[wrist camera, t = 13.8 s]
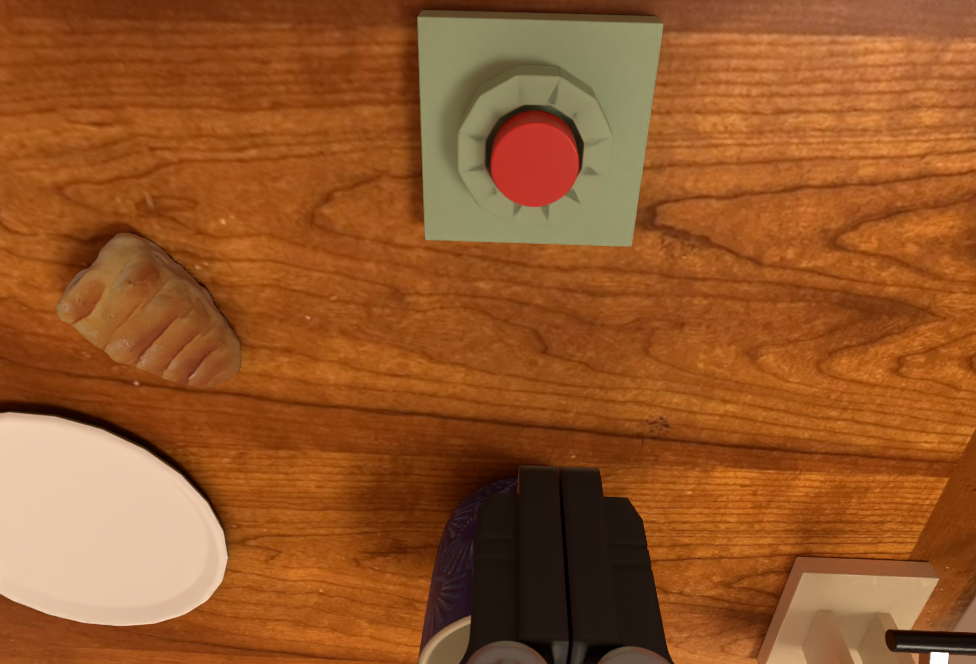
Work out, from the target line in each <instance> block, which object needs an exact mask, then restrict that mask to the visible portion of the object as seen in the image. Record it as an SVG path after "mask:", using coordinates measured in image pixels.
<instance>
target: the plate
mask: <svg viewBox="0 0 976 664" xmlns="http://www.w3.org/2000/svg"><path fill="white" fill-rule="evenodd" d="M228 556H229V555H228V550H227V544H226V538H225V533H224V528H223V527H222V525H221V523H220V521H219V519H218V518H217V516H216V514H215V512H214V510H213V509H212V507H211V505H210V503H209V501H208V500H207V499H206V498H205V497H204V496H203V495H202V494H201V493H200V492H199V491H198V489H197V488H196V487H195V486H194V485H193V484H192V483H191V482H190V481H189V480H188V479H187V478H186V477H185V476H184V475H183V474H182V473H181V472H180V471H179V470H177V469H176V468H174V467H173V466H172V465H170V464H169V463H167V462H166V461H165V460H163V459H162V458H160V457H159V456H157V455H156V454H155V453H153V452H152V451H150V450H149V449H147V448H146V447H144V446H142V445H140V444H138V443H135V442H133V441H131V440H129V439H127V438H125V437H123V436H120V435H118V434H116V433H114V432H112V431H110V430H108V429H106V428H103V427H99V426H96V425H92V424H89V423H85V422H81V421H78V420H74V419H71V418H67V417H63V416H60V415H54V414H43V413H32V412H21V411H4V412H0V594H2V595H4V596H5V597H7V598H9V599H11V600H13V601H15V602H18V603H20V604H23V605H26V606H28V607H31V608H34V609H36V610H39V611H41V612H44V613H47V614H50V615H54V616H58V617H62V618H67V619H71V620H75V621H80V622H84V623H92V624H104V625H115V626H128V625H141V624H153V623H158V622H161V621H164V620H168V619H171V618H175V617H178V616H182V615H184V614H186V613H188V612H189V611H191V610H193V609H194V608H196V607H197V606H199V605H201V604H202V603H204V602H206V601H207V600H208V599H209V598H210V596H211V595H212V594H213V593H214V591H215V590H216V589H217V587H218V586H219V585H220V584H221V582H222V580H223V577H224V573H225V569H226V564H227V560H228Z"/></svg>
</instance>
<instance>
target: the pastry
mask: <svg viewBox="0 0 976 664" xmlns="http://www.w3.org/2000/svg"><path fill="white" fill-rule="evenodd" d="M56 312H57V314H58V316H59V318H60V320H62V321H63V322H67V323H70V324H71V325H72V326H73V327H74V328H75V329H76V330H77V331H78V332H79V333H80V334H81V335H82V336H84V337H85V338H86V339H87V340H88V341H89V342H90V343H92V344H93V345H94V346H96V347H98V348H101V349H102V350H104V351H105V352H106V353H107V354H108V355H109V357H110V358H112V359H113V360H114V361H116V362H119V363H123V364H128V365H131V366H133V367H135V368H138V369H140V370H147V371H150V372H151V373H153V374H155V375H158V376H160V377H162V378H164V379H166V380H170V381H174V382H177V383H179V384H182V385H189V386H194V387H196V388H199V389H200V388H207V387H212V386H215V385H217V384H220V383H222V382H223V381H225V380H227V379H228V378H230V377H233V376H235V375H236V374H237V373H238V371H239V370H240V367H241V359H240V342H239V340H238V338H237V337H236V335H235V331H234V330H232V328H231V327H230V326H229V325H228V321H227V319H226V318H225V317H224V316H222V315H221V313H220V312H219V310H218V309H217V307H216V306H215V304H214V300H213V298H212V296H211V295H210V293H209V292H208V291H207V290H206V288H204V287H202V286H200V285H199V283H198V282H197V281H196V280H195V279H194V277H193V276H192V275H190V274H189V273H188V272H187V271H185V270H184V268H183V267H182V266H181V265H179V264H176V263H175V262H174V261H173V260H172V259H171V258H169V257H168V255H167V253H166V252H165V251H163V250H162V249H161V248H160V247H159V246H158V245H156V244H155V243H153V242H151V241H150V240H147V239H144V238H142V237H140V236H138V235H135V234H131V233H119V234H117V235H116V236H115V237H113V238H112V240H110V241H109V242H108V243H107V244H106V245H105V246H104V247H103V248H102V249H101V250H100V252H99V254H98V257H97V259H96V260H95V261H94V263H93V264H92V265H91V267H90V268H88V269H84V270H82V271H80V272H79V273H78V274H76V276H75V277H74V279H73V280H72V281H71V282H70V283H69V285H68V286H67V288H66V289H65V293H64V294H63V296H62V297H61V299H60V300H59V301H58V303H57V305H56Z"/></svg>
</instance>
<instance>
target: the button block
mask: <svg viewBox="0 0 976 664" xmlns="http://www.w3.org/2000/svg"><path fill="white" fill-rule="evenodd" d="M663 27H664V23H663V22H662V21H661V20H660V19H659V18H658V17H657V16H632V15H594V14H557V13H519V12H482V11H445V10H422V11H421V13H420V14H419V15H418V17H417V28H418V58H419V88H420V118H421V148H422V178H423V208H424V238H425V240H447V241H476V242H506V243H536V244H566V245H596V246H626V247H631V246H632V241H633V234H634V227H635V220H636V213H637V206H638V199H639V192H640V186H641V179H642V172H643V165H644V158H645V151H646V144H647V137H648V130H649V123H650V117H651V110H652V103H653V96H654V89H655V82H656V75H657V68H658V61H659V54H660V47H661V41H662V34H663ZM530 110H541V111H546V112H549V113H552V114H554V115H556V116H558V117H559V118H560V119H562V120H563V121H564V122H565V123H566V124H567V125H568V126H569V128H570V129H571V131H572V133H573V135H574V138H575V141H576V146H577V150H578V155H579V171H578V175H577V178H576V180H575V182H574V184H573V186H572V187H571V189H570V190H569V191H568V192H567V193H566V194H565V195H564V196H563V197H562V198H560V199H559V200H557V201H555V202H554V203H551V204H549V205H545V206H540V207H528V206H523V205H520V204H517V203H515V202H513V201H511V200H509V199H508V198H506V197H505V196H504V195H503V194H502V193H501V192H500V191H499V189H498V188H497V186H496V184H495V182H494V180H493V177H492V173H491V154H492V145H493V141H494V138H495V135H496V134H497V132H498V130H499V129H500V127H501V126H502V125H503V124H504V123H505V122H506V121H507V120H508V119H509V118H511V117H513V116H514V115H516V114H518V113H521V112H524V111H530Z"/></svg>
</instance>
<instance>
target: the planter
mask: <svg viewBox="0 0 976 664" xmlns="http://www.w3.org/2000/svg"><path fill="white" fill-rule="evenodd" d="M517 485H518V477H515V478H508V479H504V480H499V481H496V482H493V483H490V484H488V485H486V486H483V487H482V488H480V489H478V490H476V491H475V492H473V493H472V494H470V495H469V496H468V497H466V498H465V499H464V500H463V501H462V502H461V503H460V504H459V505H458V506H457V508H456V509H455V510H454V512H453V513H452V514H451V516H450V518H449V520H448V522H447V524H446V526H445V529H444V531H443V534H442V537H441V540H440V544H439V547H438V551H437V555H436V559H435V564H434V570H433V575H432V580H431V585H430V591H429V597H428V602H427V608H426V614H425V620H424V627H423V633H422V639H421V645H420V652H419V658H418V663H417V664H459V663H460V661H461V660H462V658H463V656H464V654H465V652H466V650H467V647H468V644H469V637H470V623H471V608H472V592H473V577H474V563H475V546H476V531H477V515H478V512H479V510H480V509H481V507H482V505H483V504H484V502H485V500H486V499H487V497H488V495H489V494H490V492H494V493H517Z"/></svg>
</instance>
